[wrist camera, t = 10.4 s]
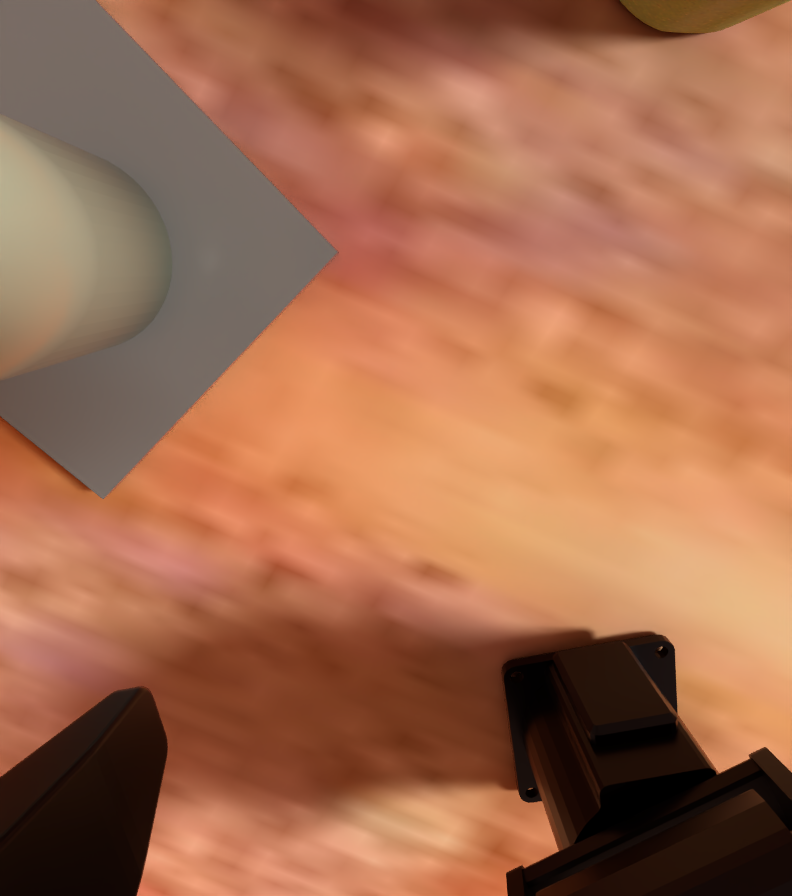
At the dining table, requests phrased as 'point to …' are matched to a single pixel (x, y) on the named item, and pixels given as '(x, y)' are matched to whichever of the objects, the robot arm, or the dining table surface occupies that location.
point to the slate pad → (188, 226)
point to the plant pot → (697, 13)
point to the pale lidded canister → (72, 252)
